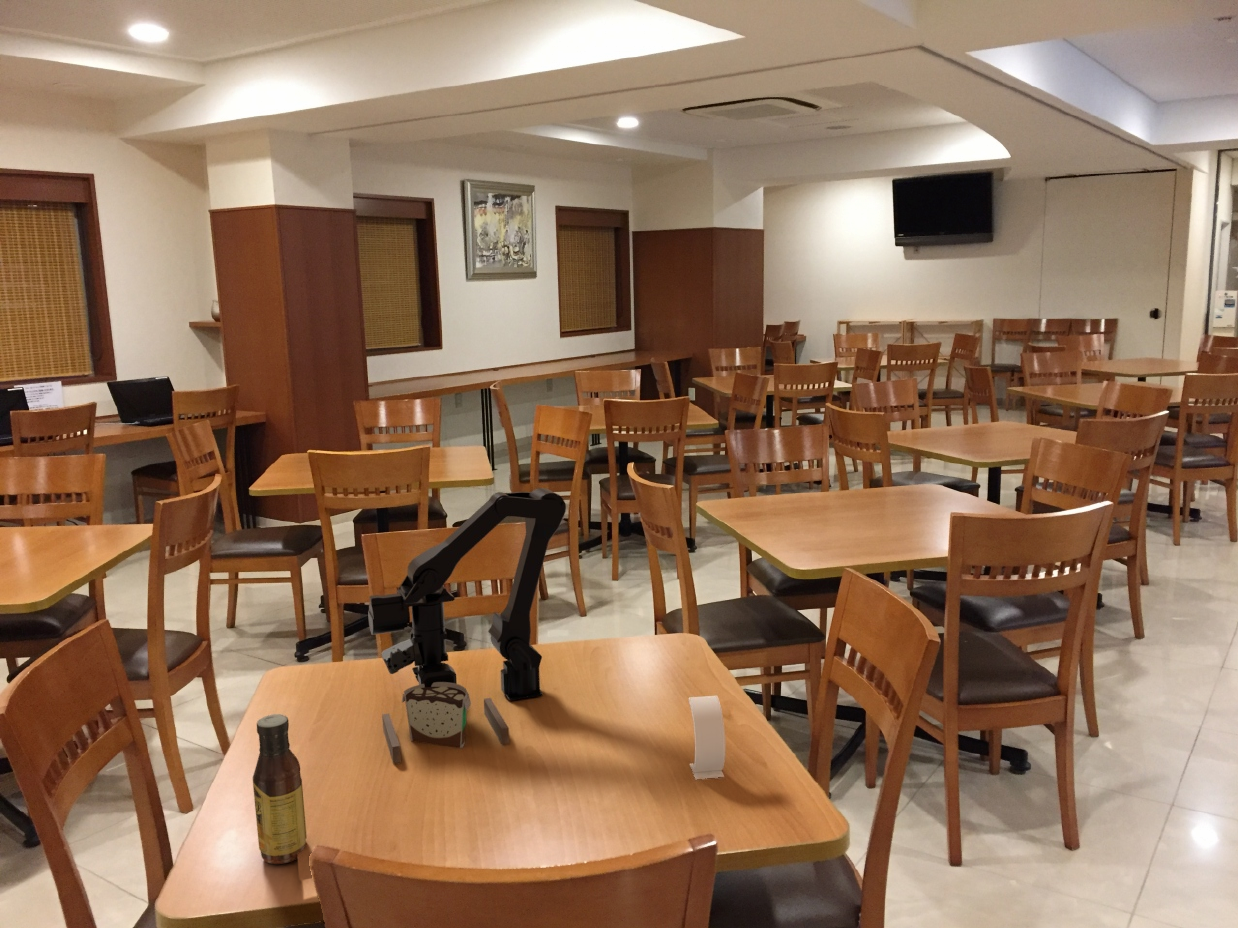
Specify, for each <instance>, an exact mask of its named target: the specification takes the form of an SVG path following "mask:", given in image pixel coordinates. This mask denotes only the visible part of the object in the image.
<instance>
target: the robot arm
mask: <svg viewBox="0 0 1238 928" xmlns="http://www.w3.org/2000/svg"><path fill="white" fill-rule="evenodd" d="M566 511H567V504H566V503H565V500H564V498H563V496H561V495H560V494H558V493H556V492H554V491H553V490H550V489H548V488H546V487H539V488H535V489H534V490H532V491H517V492H516V491H515V492H503V491H502V492H501V491H497V492H495V493H493V494H492V495H491V496H490V498H489V499H488V500H487V501H486V502H485V503H484V504H483V505H482V506H480V508H478V509H477V511H475V512H474V513H473V514H471V516H470V517H469V518H468V519H467V520H465V521H464V522H463V523H462V524H461V525H460V526H459V527H458V528H457V529H455V531H453V533H451V534H450V535H448V537H447V538H446V539H445V540H443V541H442V542H440V543H439V544H437V545H434V546H432V547H429V548H428V549H425V551H423V552H422V553H420V554H418V555H417V556H415V557H414V558H413V559H411V561H410V562H409V563H408V566H407V573H406V576H405V578H404V579H403V581H402V582H401V583H400V585H399V586H398V588H397V591H396V592H397V593H390V594H382V595H380V594H372V595H370V596H369V605H368V611H367V613H368V614H367V616H368V617H367V618H368V626H369V630H370V635H372V636H373V635H381V634H387V633H393V632H394V633H395V632H396V633H397V632H402V631H405V628H408V625H410V623H411V622H412V623H411V624H412V626H411V627H412V629H411V630H410V632H409V638H408V639H406V640H404V641H401V642H398V643H396V644H394V645H392V646H390V647H388V648H386V649H384V650H383V651H381V658H382V660H383V661H384V664H385V666H386V668H387V670H388V673H389V675H394V674H396V673H398V672H399V670H402V669H404V668H406V667H408V666H410V665H412V664H413V663H414V667H412V668H411V670H412V672H413V674H414V677H415V679H416V682H418V685H420V684H424V685H425V687H431V686H432V684H433V683H435V682H449V683H455V684H458V683H457V674H456V671H455V669H454V668H453V667H452V666H451V665H450V664H448V663H445V662H448V661H449V654H448V653H447V644H446V643H447V642H446V640H447V639H448V633H447V630H446V628H445V627H446V625H445V609H444V608H445V607H444V605H445V603H446V602H453V601H455V599H456V598H455V596H454V595H453V594H452V593H451V592H450V591H448V590H447V588H446V587H445V586H444V585H445V583H446V582H447V581H448V580H449V578H450V577H451V575H452V574H453V573H454V571H455V569H456V567H457V565H458V563H459V562H460V561H461V559H463V558H464V556H465V555H467V554H468V553H469V552H470V551H471V550H472V549H474V547H475V546H477V545H478V544H479V543H480V542H481V541H482V540H483V539H484V538H485V537H486V536H487V535H489V533H491V531H493V529H495V528H496V527H497V526H498V525H499V524H500V523H501V522H502V521H504V520H505V518H507V517H517V518H524V521H525V522H524V523H525V524H524V525H525V536H524V539H523V544H522V548H521V551H520V554H519V555H520V556H519V557H518V563H517V566H516V569H515V570H516V571H515V574H514V578H513V582H512V585H511V589H510V593H509V597H508V600H507V604H506V606H505V607H504V609H503V610H502V612H501V613H500V612H499V613H498V612H496V611H494V612H493V615H492V623H491V626H490V628H489V629H488V631H487V632H488V633H489V635H490V642H491V644H492V646H493V647H494V648H495V650H496V651H497V652H498V654H500V655H501V656H502V658H503V659H505V660H503V661H502V667H503V668H502V669H501V670H500V690H501V691H502V693H503V695H505V696H506V697H507V699H508V701H517V700H524V699H529V698H530V699H531V698H535V697H536V698H537V697H542V696H543V691H542V690H541V687H540V686H541V683H540V682H541V681H540V677H541V676H540V665H541V661H542V659H543V656H542V654H540V653H539V651H537V649H536V648H535V647H533V645H532V644H531V634H532V630H531V629H532V628H531V627H532V626H531V609H532V606H533V602H534V598H535V596H536V595H535V594H536V590H537V588H538V587H537V586H538V584H539V580H540V577H541V576H540V575H541V572H542V569H543V564H544V562H545V561H544V560H545V558H546V554H547V551H548V545H549V542H550V540H551V539H552V537H554V534H556V532H557V531H558V529H559V528H560V526H561V524H562V521H563V519H564V517H565V514H566ZM410 607H411V611H410ZM410 612H411V613H410Z"/></svg>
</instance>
